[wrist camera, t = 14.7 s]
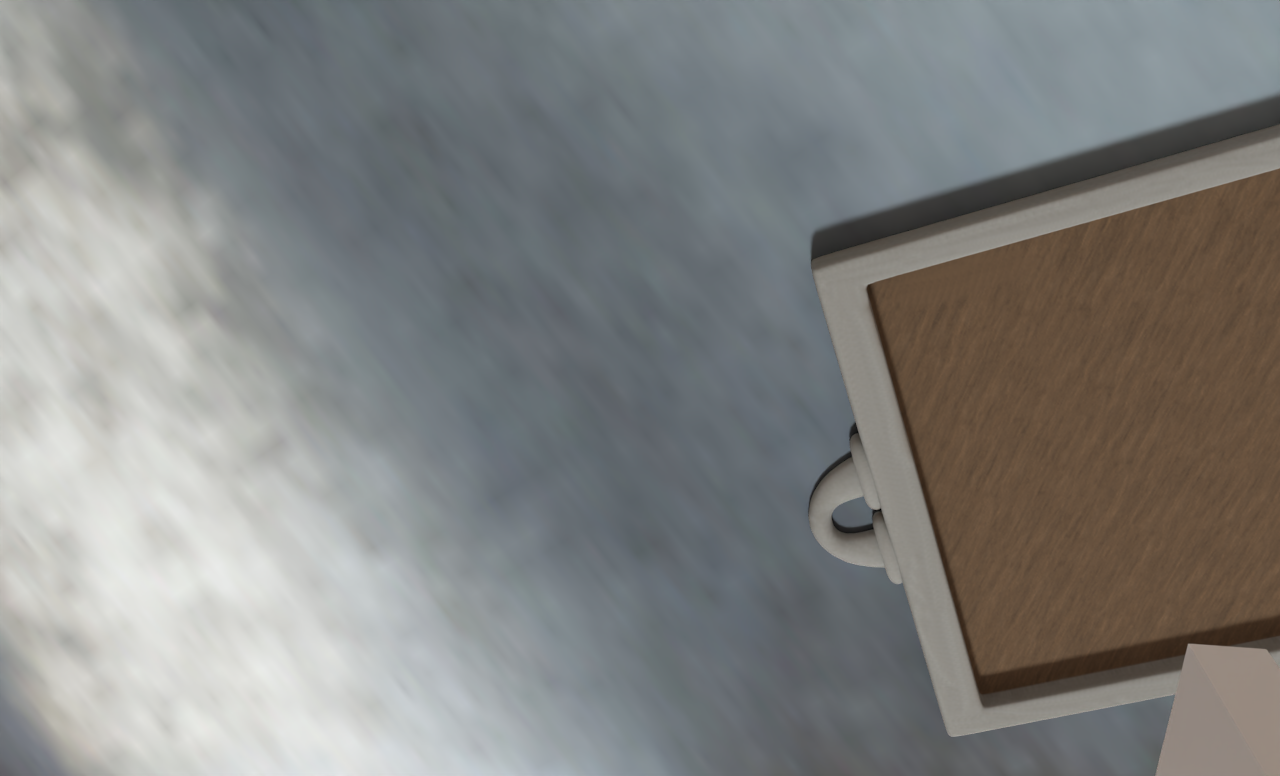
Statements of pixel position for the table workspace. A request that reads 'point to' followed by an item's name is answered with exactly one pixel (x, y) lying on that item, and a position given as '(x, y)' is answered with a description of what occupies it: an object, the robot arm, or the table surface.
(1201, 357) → the grey rectangular frame
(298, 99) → the table surface
